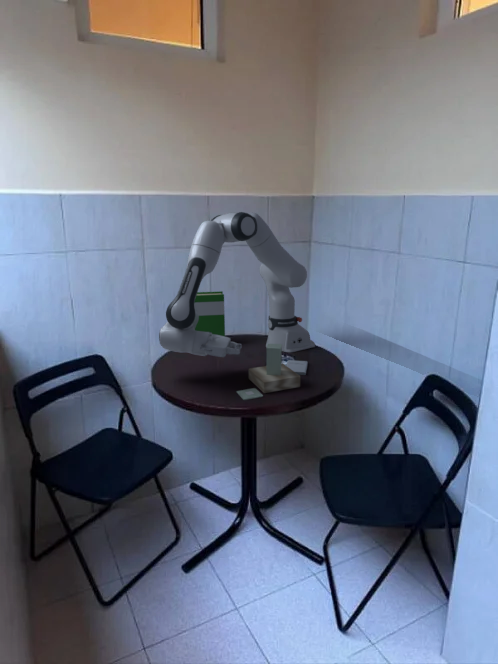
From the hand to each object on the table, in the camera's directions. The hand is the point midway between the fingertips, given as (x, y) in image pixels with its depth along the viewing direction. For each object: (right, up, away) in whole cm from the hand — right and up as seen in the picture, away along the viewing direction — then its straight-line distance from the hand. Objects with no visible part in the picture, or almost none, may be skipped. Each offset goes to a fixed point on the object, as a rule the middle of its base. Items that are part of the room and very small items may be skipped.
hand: (240, 349), depth 163 cm
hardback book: (-17, 0, +42) cm, 45 cm away
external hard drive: (+22, -9, +13) cm, 27 cm away
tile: (+3, -15, -10) cm, 18 cm away
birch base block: (+12, -12, 0) cm, 17 cm away
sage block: (+12, -8, -2) cm, 15 cm away
